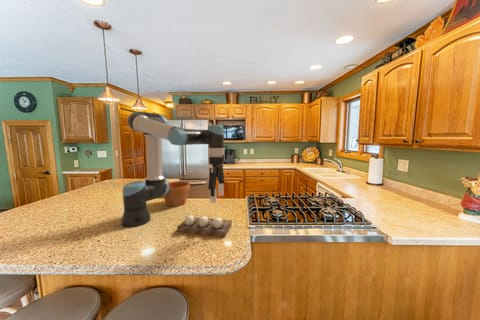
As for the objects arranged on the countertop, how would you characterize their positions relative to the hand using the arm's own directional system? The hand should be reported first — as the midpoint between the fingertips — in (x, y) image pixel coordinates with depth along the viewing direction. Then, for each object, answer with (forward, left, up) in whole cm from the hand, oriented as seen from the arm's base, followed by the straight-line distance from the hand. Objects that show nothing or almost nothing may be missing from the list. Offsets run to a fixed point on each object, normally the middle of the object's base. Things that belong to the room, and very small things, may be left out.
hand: (217, 198), depth 97 cm
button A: (-16, 0, -15) cm, 22 cm away
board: (-8, +2, -18) cm, 20 cm away
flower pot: (-46, +37, -18) cm, 62 cm away
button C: (0, 0, -15) cm, 15 cm away
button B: (-8, 0, -15) cm, 17 cm away
